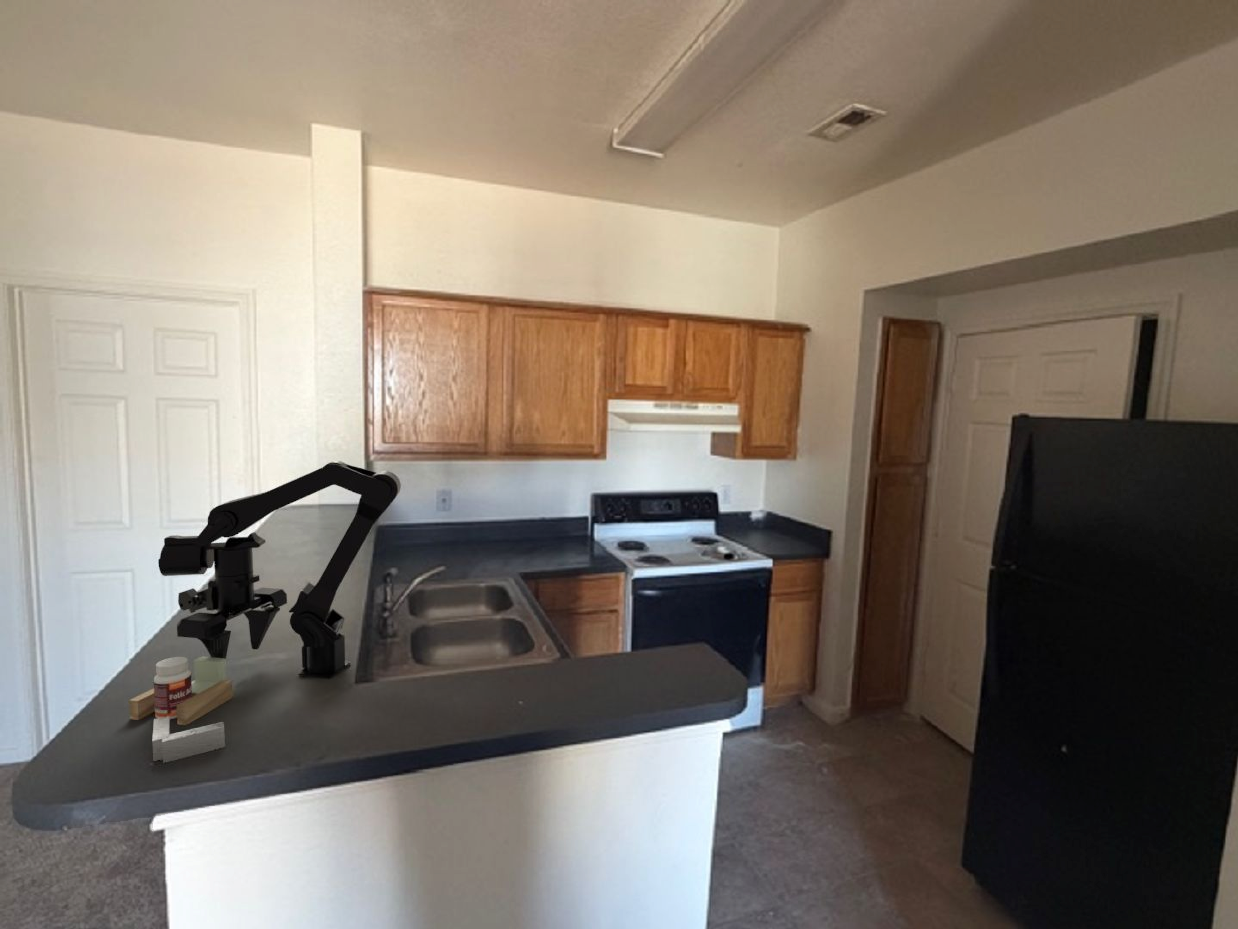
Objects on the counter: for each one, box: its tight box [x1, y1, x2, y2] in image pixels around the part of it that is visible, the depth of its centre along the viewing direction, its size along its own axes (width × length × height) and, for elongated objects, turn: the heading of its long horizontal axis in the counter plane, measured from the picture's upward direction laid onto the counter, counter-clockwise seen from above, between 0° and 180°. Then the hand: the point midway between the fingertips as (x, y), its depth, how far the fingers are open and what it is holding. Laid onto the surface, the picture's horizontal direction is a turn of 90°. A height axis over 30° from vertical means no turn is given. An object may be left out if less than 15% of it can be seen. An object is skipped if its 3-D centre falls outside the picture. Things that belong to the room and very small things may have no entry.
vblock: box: [151, 716, 226, 764], centre depth 84 cm, size 11×6×3 cm, turn 81°
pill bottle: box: [153, 656, 192, 720], centre depth 94 cm, size 5×5×8 cm
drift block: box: [191, 656, 227, 697], centre depth 99 cm, size 5×6×6 cm
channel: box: [128, 679, 234, 726], centre depth 96 cm, size 10×9×3 cm
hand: (238, 658), depth 107 cm, fingers open, 8 cm apart
